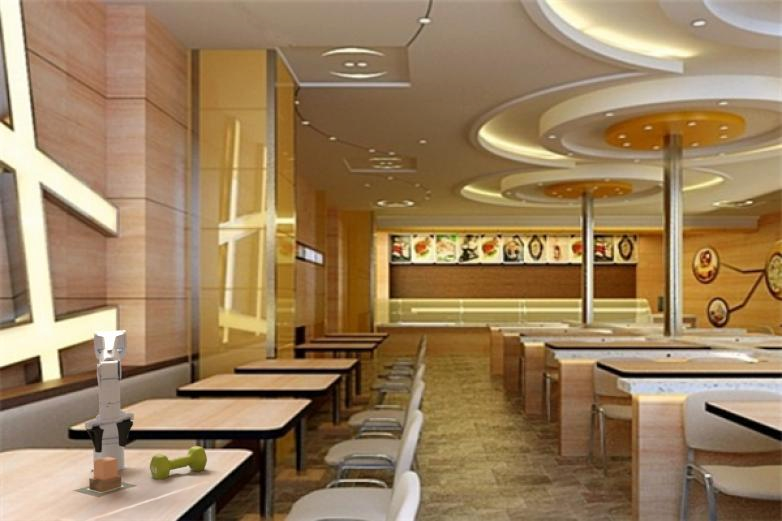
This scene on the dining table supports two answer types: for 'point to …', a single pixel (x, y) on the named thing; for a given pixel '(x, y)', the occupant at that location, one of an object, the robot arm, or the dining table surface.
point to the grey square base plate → (98, 494)
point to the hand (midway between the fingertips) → (110, 449)
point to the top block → (105, 468)
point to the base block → (104, 484)
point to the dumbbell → (178, 462)
